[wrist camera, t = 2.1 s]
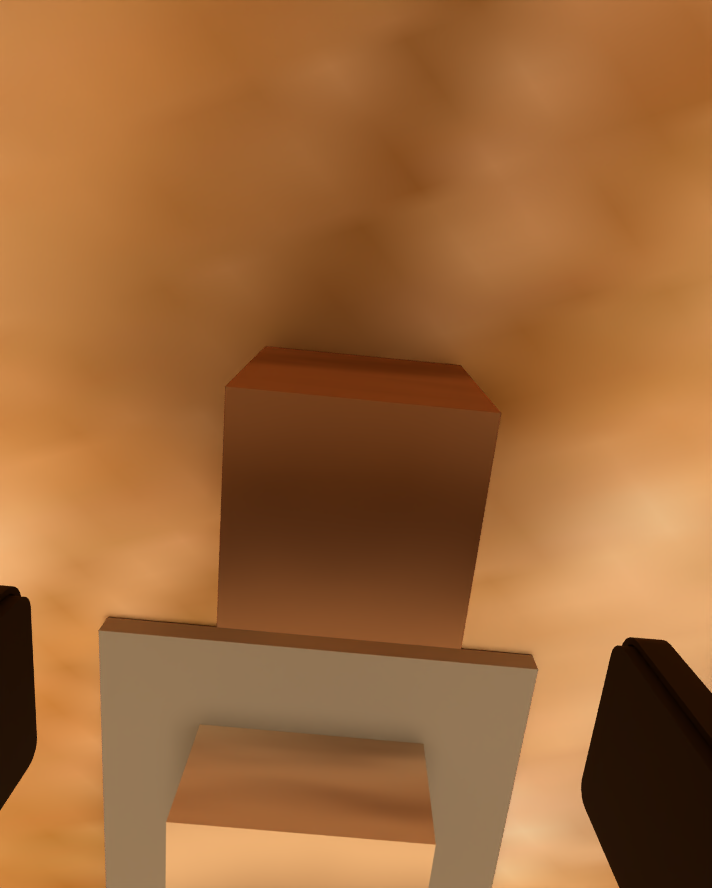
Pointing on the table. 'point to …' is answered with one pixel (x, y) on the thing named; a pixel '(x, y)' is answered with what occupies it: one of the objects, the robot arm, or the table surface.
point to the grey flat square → (307, 726)
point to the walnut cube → (352, 496)
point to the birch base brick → (300, 813)
